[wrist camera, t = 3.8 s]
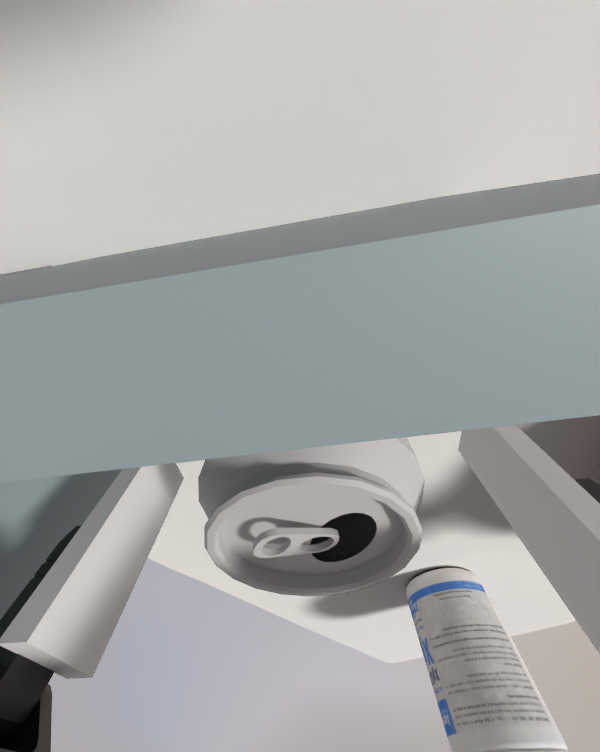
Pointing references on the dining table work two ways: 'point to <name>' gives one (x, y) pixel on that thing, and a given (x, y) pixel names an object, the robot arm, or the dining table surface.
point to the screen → (292, 345)
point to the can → (314, 516)
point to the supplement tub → (477, 668)
